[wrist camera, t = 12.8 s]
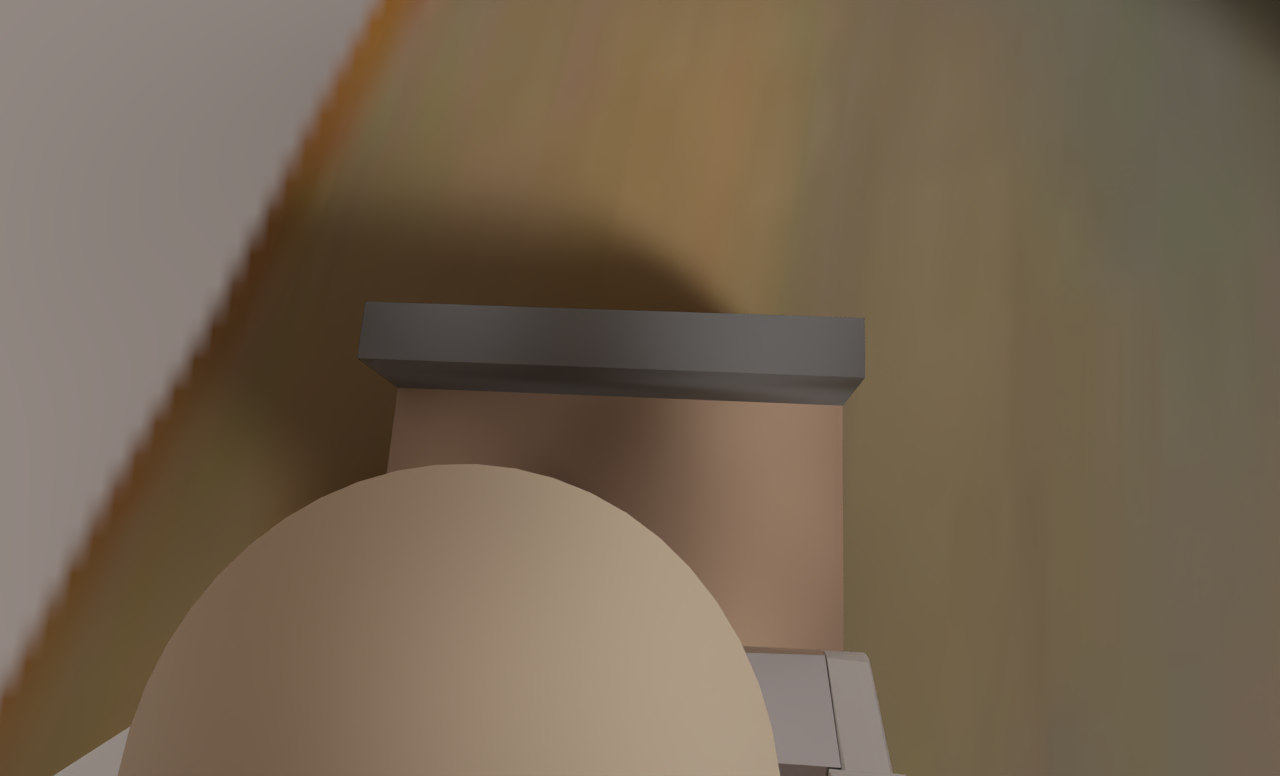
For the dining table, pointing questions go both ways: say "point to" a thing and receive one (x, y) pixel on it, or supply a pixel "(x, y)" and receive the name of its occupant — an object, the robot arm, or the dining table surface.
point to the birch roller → (454, 645)
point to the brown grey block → (652, 432)
